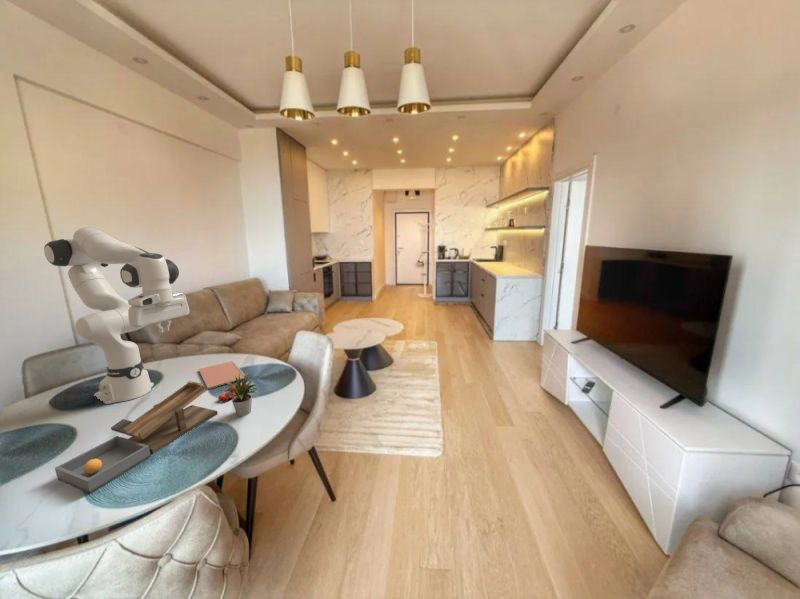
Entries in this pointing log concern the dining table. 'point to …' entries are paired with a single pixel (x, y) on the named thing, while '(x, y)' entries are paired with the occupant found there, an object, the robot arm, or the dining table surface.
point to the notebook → (220, 374)
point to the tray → (103, 463)
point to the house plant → (241, 395)
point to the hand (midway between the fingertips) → (164, 331)
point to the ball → (92, 466)
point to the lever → (160, 412)
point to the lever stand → (176, 426)
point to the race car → (223, 399)
